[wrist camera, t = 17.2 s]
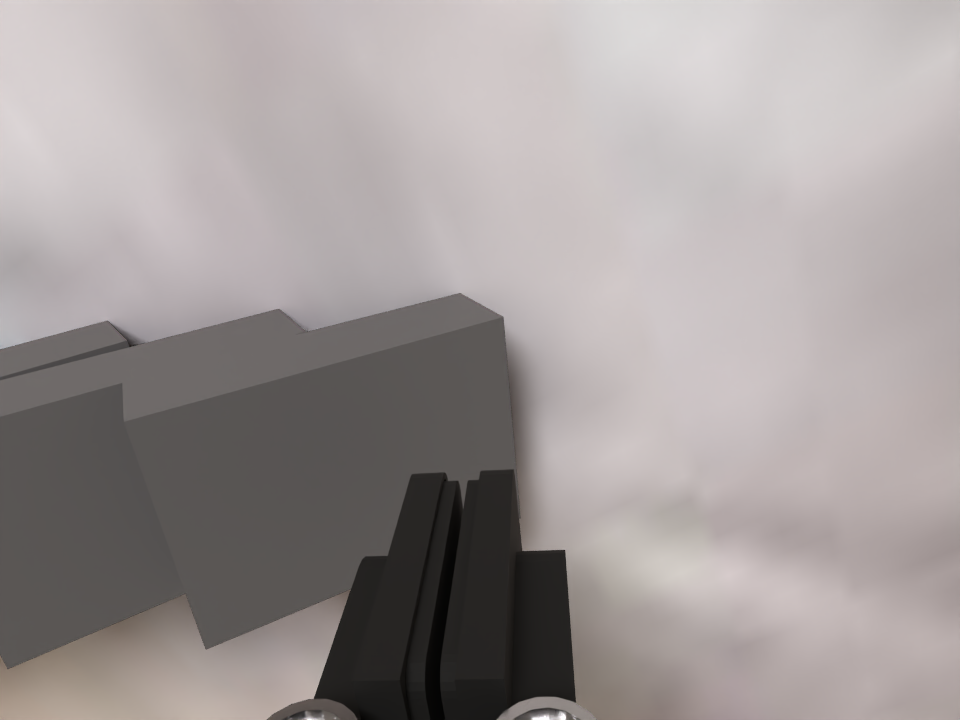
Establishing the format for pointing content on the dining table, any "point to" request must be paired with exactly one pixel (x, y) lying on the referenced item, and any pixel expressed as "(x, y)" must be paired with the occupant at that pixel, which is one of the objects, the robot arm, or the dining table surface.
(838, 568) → the dining table surface
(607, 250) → the dining table surface
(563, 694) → the robot arm
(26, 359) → the domino
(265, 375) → the domino
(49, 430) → the domino
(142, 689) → the dining table surface
